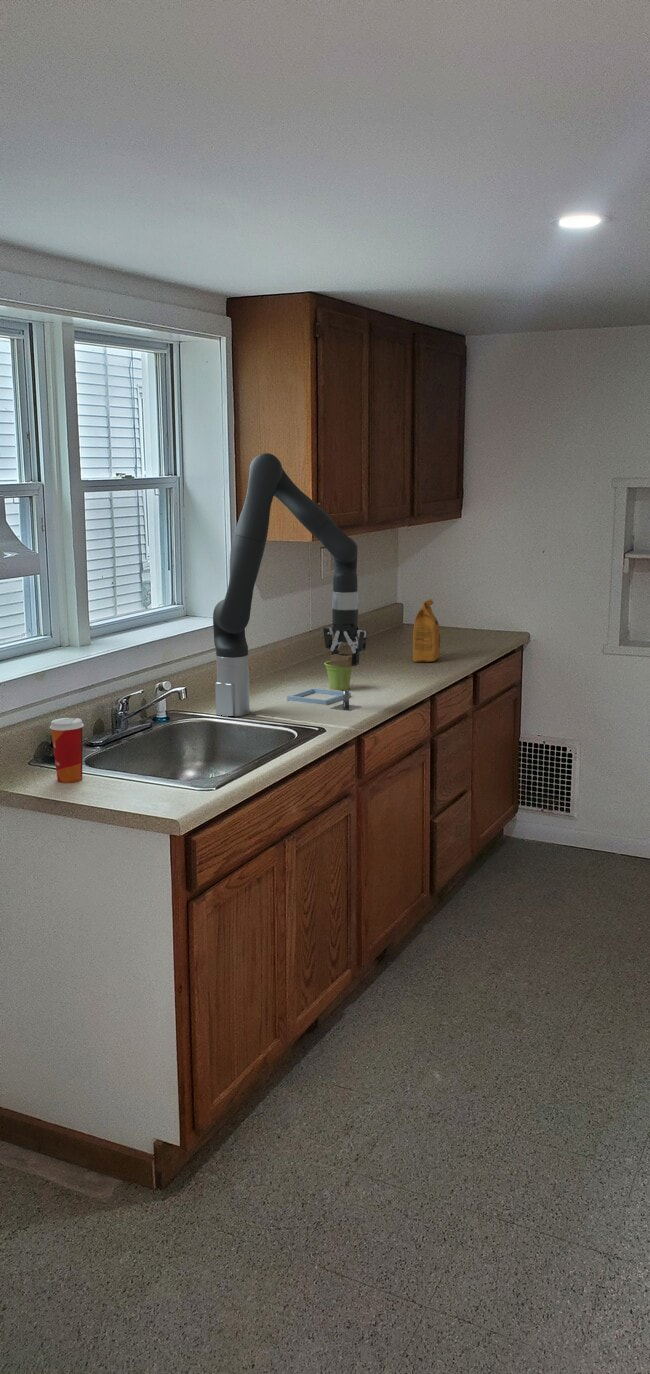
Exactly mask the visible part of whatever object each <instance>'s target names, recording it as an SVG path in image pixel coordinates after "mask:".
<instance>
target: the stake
mask: <svg viewBox="0 0 650 1374" xmlns="http://www.w3.org/2000/svg"><path fill="white" fill-rule="evenodd" d="M342 692H343V699H342V703H341V704H339V705H335V706H333V707H329V709H331V710H339V711H346V712H347V711H348V712H351V711H354V710H357V709H359V708H362V707H363V705H355V704H350V697H349V692H350V690H349V689H348V690H342Z"/></svg>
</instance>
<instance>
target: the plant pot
mask: <svg viewBox="0 0 650 1374" xmlns="http://www.w3.org/2000/svg"><path fill="white" fill-rule="evenodd" d="M323 665H325V669H326V673H327V677H328V683H329V690H334V691H343V690H349V689H350V683H351V676H352V670H353V666H352V667H340V666H331V660H328V661H326V662H324V664H323Z"/></svg>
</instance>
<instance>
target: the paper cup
mask: <svg viewBox="0 0 650 1374" xmlns="http://www.w3.org/2000/svg"><path fill="white" fill-rule="evenodd" d="M84 727H85V726H84V723H83V720H82V719H81V718H79V717H77V718H75V717H61V718H56V719H53V720H52V721H50V725H49V729H50V730H51V731H50V732H51V739H52V748H53V757H54V764H55V765H54V766H55V770H56V771H55V772H56V778H57V779H56V780H57V781H58V783H61V784H69V783H70V784H71V783H77V782H80V781H82V779H83V753H84V752H83V728H84Z"/></svg>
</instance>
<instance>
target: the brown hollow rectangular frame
mask: <svg viewBox="0 0 650 1374" xmlns="http://www.w3.org/2000/svg"><path fill="white" fill-rule="evenodd" d="M352 653H353V652H339V653H338V654H334V655H330V661H331V666H340V667H352V668H353V666H352ZM359 665H360V663H359V664H358V665H357V666H359Z"/></svg>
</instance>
